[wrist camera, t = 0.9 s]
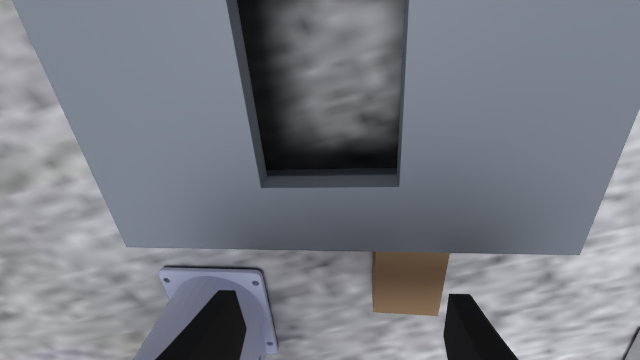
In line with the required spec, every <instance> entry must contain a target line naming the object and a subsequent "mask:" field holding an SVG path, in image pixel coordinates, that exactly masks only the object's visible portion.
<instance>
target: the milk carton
mask: <svg viewBox="0 0 640 360" xmlns="http://www.w3.org/2000/svg"><path fill="white" fill-rule="evenodd" d="M625 360H640V331H639V332H638V334H637V336H636V338H635V340H634V342H633V344H632V346H631V348H630V350H629V352H628V354H627V356H626V358H625Z"/></svg>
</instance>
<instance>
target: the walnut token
mask: <svg viewBox="0 0 640 360" xmlns="http://www.w3.org/2000/svg"><path fill="white" fill-rule="evenodd" d="M449 254H450V253H431V252H373V263H372V297H373V312H380V313H397V314H414V315H431V316H438V312H439V307H440V301H441V296H442V291H443V285H444V280H445V275H446V270H447V264H448V259H449Z"/></svg>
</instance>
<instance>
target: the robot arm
mask: <svg viewBox="0 0 640 360" xmlns="http://www.w3.org/2000/svg"><path fill="white" fill-rule="evenodd" d="M159 276H160V279H161V281H162V283H163V286H164V288H165V290H166V293H167V295H168V298H169V300H170V302H169V303H168V305H167V306H166V308H165V309H164V311H163V313H162V314H161V316H160V317H159V319H158V321H157V322H156V324H155V325H154V327H153V329H152V330H151V332H150V333H149V335H148V337H147V338H146V340H145V341H144V343H143V344H142V346H141V348H140V349H139V351H138V352H137V354H136V356H135V357H134V359H133V360H264V358H265V354H276V353H277V351H278V345H277V340H276V336H275V331H274V326H273V322H272V317H271V312H270V308H269V303H268V299H267V294H266V289H265V285H264V280H263V275H262V273H261V272H260V271H258V270H243V269H204V268H166V267H165V268H162V269H161V270H160V271H159ZM256 281H257V282H256ZM444 341H445V347H446V352H447V357H448V360H518V358H517V357H516V356H515V355H514V353H513V352H512V351H511V350H510V348H509V347H508V346H507V345H506V343H505V342H504V341H503V339H502V338H501V337H500V335H499V334H498V333H497V331H496V330H495V329H494V327H493V326H492V325H491V323H490V322H489V321H488V319H487V318H486V316H485V315H484V313H483V312H482V311H481V309H480V308H479V306H478V305H477V303H476V302H475V300H474V299H473V297H472V296H471V295H469V294H449V298H448V306H447V313H446V320H445V328H444Z"/></svg>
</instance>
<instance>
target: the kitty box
mask: <svg viewBox="0 0 640 360" xmlns="http://www.w3.org/2000/svg"><path fill="white" fill-rule="evenodd" d="M12 2H13V4H14V6H15V8H16V10H17V12H18V14H19V17H20V19H21V21H22V23H23V25H24V27H25V30H26V32H27V34H28V36H29V38H30V40H31V42H32V45H33V47H34V49H35V51H36V53H37V55H38V58H39V60H40V62H41V64H42V66H43V68H44V70H45V73H46V75H47V77H48V79H49V81H50V83H51V85H52V88H53V90H54V92H55V94H56V96H57V98H58V101H59V103H60V105H61V107H62V109H63V111H64V113H65V116H66V118H67V120H68V122H69V124H70V126H71V129H72V131H73V133H74V135H75V137H76V139H77V141H78V144H79V146H80V148H81V150H82V152H83V154H84V157H85V159H86V161H87V163H88V165H89V167H90V169H91V172H92V174H93V176H94V178H95V180H96V182H97V184H98V187H99V189H100V191H101V193H102V195H103V197H104V200H105V202H106V204H107V206H108V208H109V210H110V212H111V215H112V217H113V219H114V221H115V223H116V225H117V228H118V230H119V232H120V234H121V236H122V238H123V240H124V243H125V245H126V247H143V248H200V249H258V250H316V251H373V252H431V253H489V254H546V255H580V253H581V250H582V248H583V245H584V243H585V241H586V238H587V236H588V233H589V231H590V228H591V226H592V223H593V221H594V219H595V216H596V214H597V211H598V209H599V206H600V204H601V202H602V199H603V197H604V194H605V192H606V189H607V187H608V184H609V182H610V180H611V177H612V175H613V172H614V170H615V167H616V165H617V162H618V160H619V158H620V155H621V153H622V150H623V148H624V145H625V143H626V140H627V138H628V136H629V133H630V131H631V128H632V126H633V123H634V121H635V118H636V116H637V114H638V111H639V109H640V0H405V12H404V33H403V54H402V76H401V97H400V119H399V140H398V161H397V168H366V169H302V170H266V167H265V161H264V156H263V150H262V144H261V138H260V132H259V127H258V121H257V115H256V109H255V103H254V98H253V92H252V86H251V80H250V74H249V69H248V63H247V57H246V51H245V45H244V39H243V34H242V28H241V22H240V16H239V10H238V5H237V0H12Z"/></svg>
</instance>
